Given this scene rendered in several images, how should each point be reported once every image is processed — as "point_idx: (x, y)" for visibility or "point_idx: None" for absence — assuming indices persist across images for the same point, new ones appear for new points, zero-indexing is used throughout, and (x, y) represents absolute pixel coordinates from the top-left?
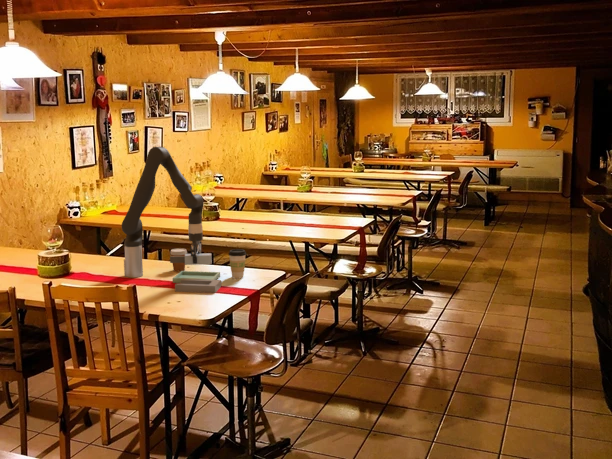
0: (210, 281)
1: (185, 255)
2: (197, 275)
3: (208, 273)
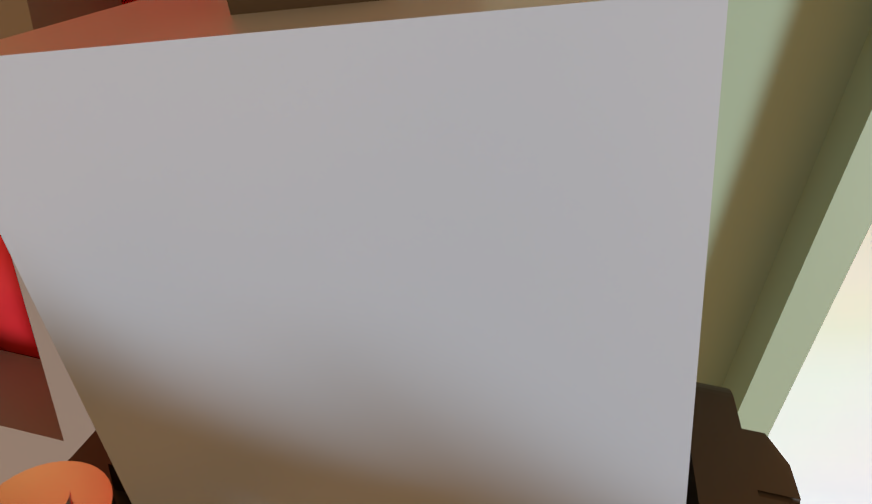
0: (63, 416)
1: (52, 108)
2: (760, 147)
3: (745, 367)
